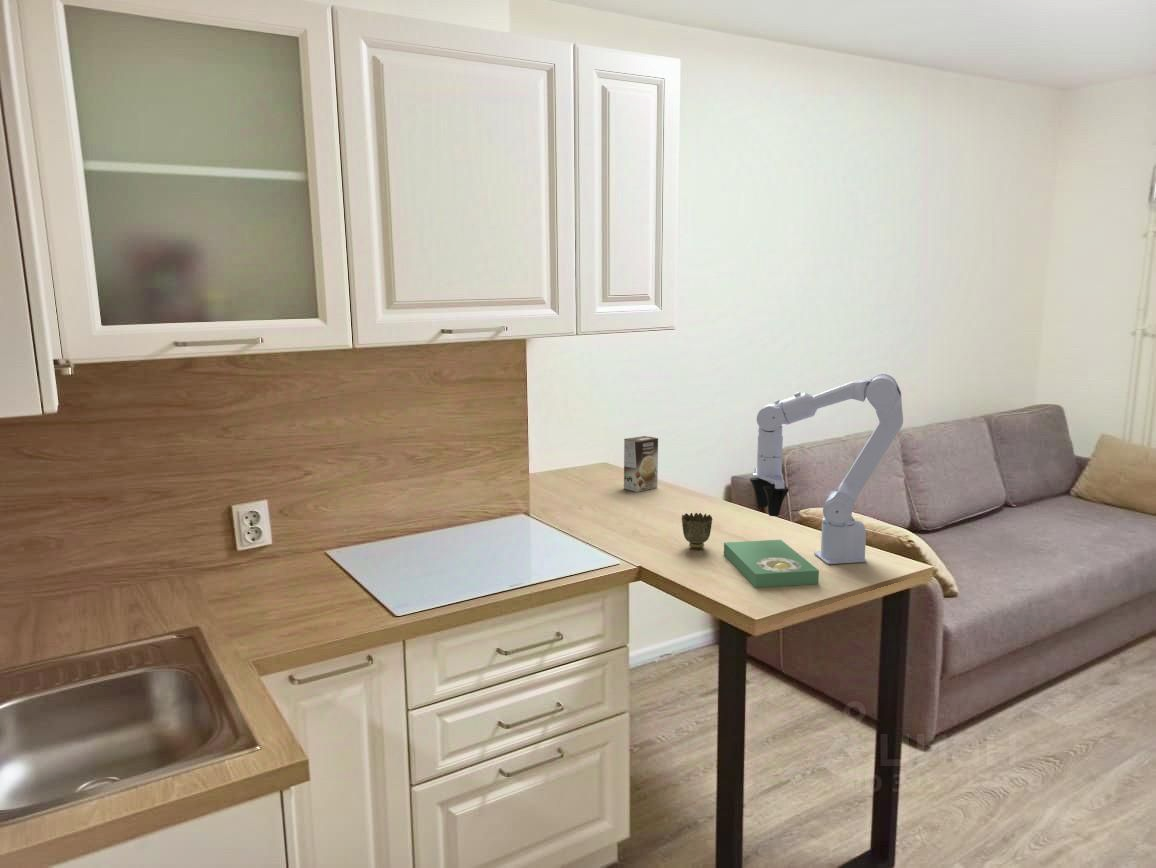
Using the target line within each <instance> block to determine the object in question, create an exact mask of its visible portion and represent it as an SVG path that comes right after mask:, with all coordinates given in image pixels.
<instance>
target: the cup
mask: <svg viewBox="0 0 1156 868" xmlns="http://www.w3.org/2000/svg"><path fill="white" fill-rule="evenodd" d="M681 523H682V532H683V537H684V539H685V540H686V541H687V542H688V543H689V544H688V547H689V548H690V549H693V550H702V549H703V548H704V547H705V543H706V542H707V541H708V540H709V539H710V535H711V531H712V523H713V516H711V514H708V515H707V513H704V514H702V513H701V512H699V513H698V512H695V513H694V514H693V512H691V513H690V514H688V513H684V514H682V515H681Z"/></svg>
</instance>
